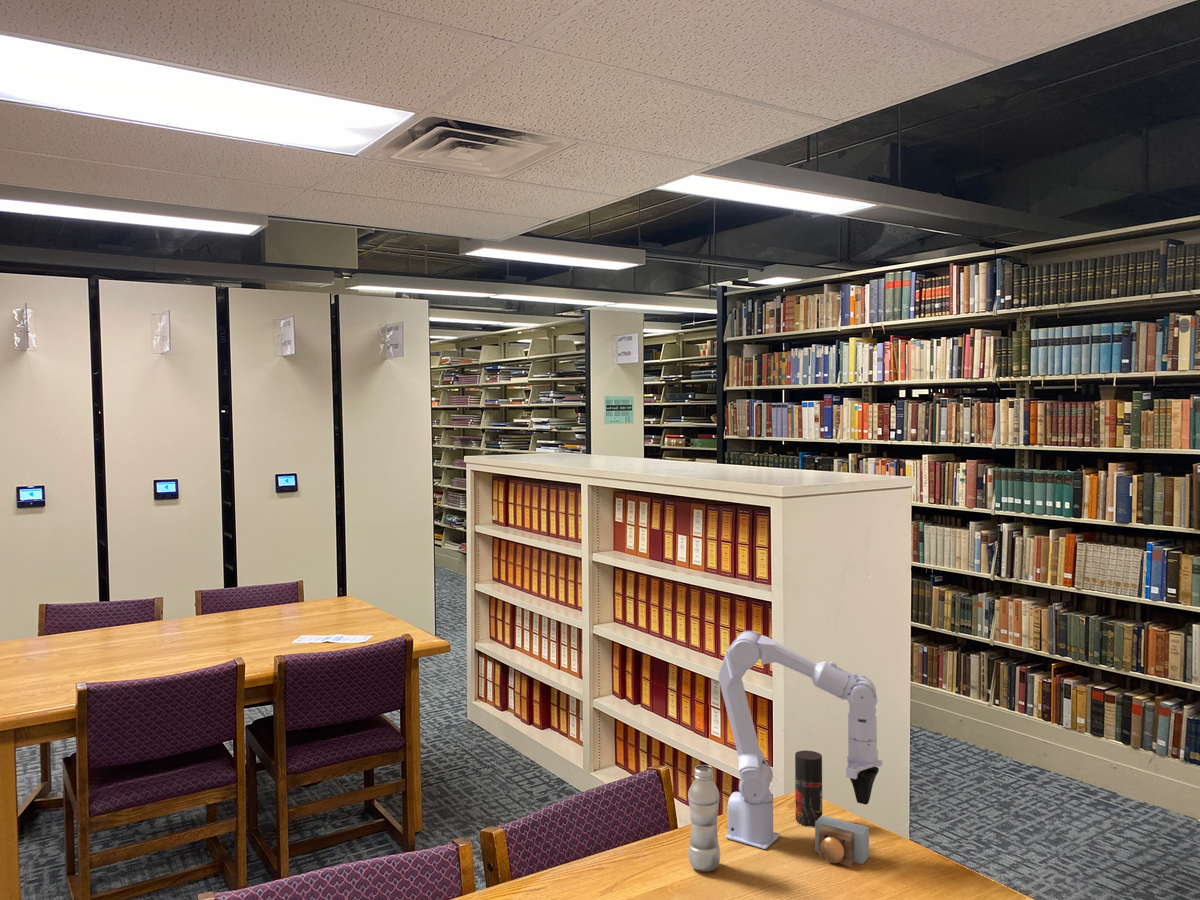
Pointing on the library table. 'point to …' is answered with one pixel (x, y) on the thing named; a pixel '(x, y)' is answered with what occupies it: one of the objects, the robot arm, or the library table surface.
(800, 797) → the deodorant
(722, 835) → the library table surface
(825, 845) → the shaft
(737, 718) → the robot arm
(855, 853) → the bearing block
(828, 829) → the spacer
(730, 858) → the library table surface
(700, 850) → the plastic bottle
